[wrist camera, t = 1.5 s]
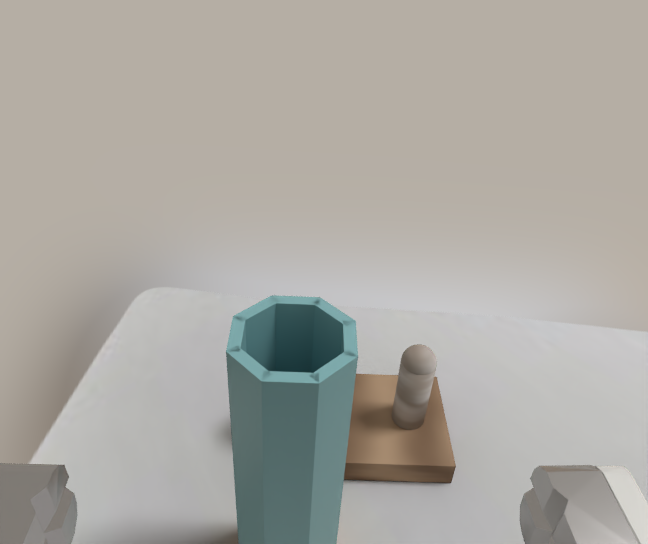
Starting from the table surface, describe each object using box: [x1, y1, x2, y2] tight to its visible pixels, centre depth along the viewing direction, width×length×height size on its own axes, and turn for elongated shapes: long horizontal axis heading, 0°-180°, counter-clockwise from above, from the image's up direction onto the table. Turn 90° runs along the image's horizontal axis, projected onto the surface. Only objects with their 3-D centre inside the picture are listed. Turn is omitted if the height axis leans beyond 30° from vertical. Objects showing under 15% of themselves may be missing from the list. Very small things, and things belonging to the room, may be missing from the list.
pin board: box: [344, 345, 456, 483], centre depth 45 cm, size 15×9×9 cm, turn 90°
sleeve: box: [226, 296, 358, 544], centre depth 32 cm, size 6×6×20 cm
